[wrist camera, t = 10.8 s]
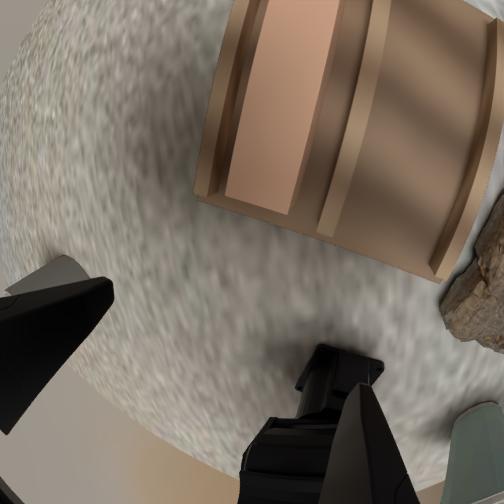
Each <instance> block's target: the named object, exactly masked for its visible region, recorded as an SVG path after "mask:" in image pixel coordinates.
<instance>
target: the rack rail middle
mask: <svg viewBox="0 0 504 504" xmlns="http://www.w3.org/2000/svg"><path fill="white" fill-rule="evenodd" d="M390 6H391V0H373V5H372V11H371V17H370V23H369V28H368V34H367V39H366V44H365V49H364V54H363V59H362V64H361V68H360V73H359V77H358V82H357V86H356V91H355V95H354V99H353V103H352V107H351V111H350V115H349V119H348V123H347V127H346V131H345V135H344V139H343V142H342V146H341V150H340V153H339V157H338V161H337V164H336V168H335V171H334V175H333V178H332V182H331V185H330V188H329V192H328V195H327V198H326V202H325V205H324V208H323V211H322V215H321V218H320V221H319V224H318V227H317V230H316V232H317V233H320V234H323V235H326V236H329V237H331V238H332V237H333V234H334V231H335V228H336V225H337V223H338V220H339V217H340V214H341V211H342V207H343V204H344V201H345V198H346V195H347V192H348V189H349V185H350V182H351V179H352V176H353V172H354V169H355V165H356V162H357V159H358V155H359V152H360V148H361V144H362V141H363V137H364V133H365V129H366V126H367V122H368V118H369V114H370V110H371V106H372V101H373V97H374V93H375V88H376V84H377V79H378V75H379V70H380V65H381V60H382V55H383V49H384V44H385V38H386V32H387V26H388V20H389V13H390Z"/></svg>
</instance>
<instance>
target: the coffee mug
mask: <svg viewBox="0 0 504 504" xmlns="http://www.w3.org/2000/svg"><path fill="white" fill-rule="evenodd" d="M88 279H90V278H89V276H88V275H87V274H86V272H85V271H84V270H83V268H82V267H81V266H80V265H79V264H78V263H77V262H76V261H75V260H73V259H72V258H70V257H68V256H61V257H59V258H57V259H55V260H53V261H52V262H50V263H48V264H46V265H45V266H43V267H41V268H40V269H38V270H36V271H35V272H33V273H31V274H30V275H28V276H26V277H25V278H23V279H21V280H20V281H18V282H17V283H15V284H13V285H12V286H10V287H9V288H7V289H6V290H5V291H4V292H3V297H7V296H12V295H17V294H22V293H26V292H31V291H35V290H40V289H45V288H50V287H54V286H59V285H64V284H69V283H73V282H78V281H83V280H88Z"/></svg>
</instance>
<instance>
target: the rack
mask: <svg viewBox="0 0 504 504" xmlns="http://www.w3.org/2000/svg"><path fill="white" fill-rule="evenodd" d="M268 2H269V0H260V4H259V8H258V11H257V15H256V19H255V22H254V26H253V30H252V34H251V38H250V42H249V46H248V50H247V54H246V58H245V62H244V66H243V71H242V75H241V79H240V84H239V88H238V93H237V97H236V102H235V106H234V111H233V116H232V120H231V125H230V130H229V135H228V140H227V145H226V150H225V156H224V161H223V166H222V172H221V177H220V183H219V188H218V192H217V193H215V194H213V195H211V196H209V197H204V196H200V195H197V200H198V201H201V202H204V203H208V204H211V205H214V206H217V207H221V208H224V209H227V210H230V211H233V212H237V213H240V214H243V215H246V216H249V217H252V218H255V219H259V220H262V221H265V222H268V223H271V224H274V225H277V226H280V227H283V228H286V229H289V230H292V231H295V232H298V233H301V234H304V235H307V236H310V237H313V238H316V239H318V240H321V241H324V242H327V243H330V244H333V245H336V246H339V247H341V248H344V249H347V250H350V251H353V252H355V253H358V254H361V255H364V256H366V257H369V258H372V259H375V260H377V261H380V262H383V263H385V264H388V265H391V266H393V267H396V268H399V269H401V270H404V271H407V272H409V273H412V274H415V275H417V276H420V277H422V278H425V279H427V280H430V281H433V282H435V283H438V284H440V282H441V280H442V279H441V278H438V277H436V276H434V274H433V272H432V270H431V268H430V266H429V264H430V262H431V260H432V258H433V255H434V253H435V251H436V249H437V247H438V244H439V242H440V240H441V238H442V235H443V233H444V230H445V228H446V226H447V223H448V221H449V218H450V216H451V213H452V210H453V208H454V205H455V202H456V199H457V197H458V194H459V191H460V188H461V185H462V182H463V179H464V175H465V172H466V169H467V165H468V162H469V158H470V155H471V151H472V147H473V143H474V139H475V134H476V130H477V125H478V120H479V115H480V110H481V104H482V98H483V91H484V83H485V74H486V63H487V44H488V24H489V23H490V22H492V21H493V20H494V18H492V17H490V16H489V15H487V14H486V13H484V12H482V11H481V10H479V9H477V8H475V7H474V6H472V5H470V4H468V3H467V2H465V1H463V0H391V6H390V13H389V20H388V26H387V32H386V38H385V44H384V49H383V55H382V60H381V65H380V70H379V75H378V79H377V84H376V88H375V93H374V97H373V101H372V106H371V110H370V114H369V118H368V122H367V126H366V129H365V133H364V137H363V141H362V144H361V148H360V152H359V155H358V159H357V162H356V165H355V169H354V172H353V176H352V179H351V182H350V185H349V189H348V192H347V195H346V198H345V201H344V204H343V207H342V211H341V214H340V217H339V220H338V223H337V225H336V228H335V231H334V234H333V237H332V238H331V237H329V236H326V235H323V234H320V233H317V232H316V230H317V227H318V224H319V221H320V218H321V215H322V211H323V208H324V205H325V202H326V198H327V195H328V192H329V188H330V185H331V182H332V178H333V175H334V171H335V168H336V164H337V161H338V157H339V153H340V150H341V146H342V142H343V139H344V135H345V131H346V127H347V123H348V119H349V115H350V111H351V107H352V103H353V99H354V95H355V91H356V86H357V82H358V77H359V73H360V68H361V64H362V59H363V54H364V49H365V44H366V39H367V34H368V28H369V23H370V17H371V11H372V5H373V0H346V3H345V8H344V13H343V18H342V23H341V27H340V32H339V37H338V41H337V46H336V50H335V55H334V59H333V64H332V68H331V72H330V77H329V81H328V85H327V89H326V93H325V98H324V102H323V106H322V110H321V114H320V118H319V122H318V126H317V130H316V134H315V138H314V141H313V145H312V149H311V153H310V157H309V161H308V164H307V168H306V172H305V175H304V179H303V183H302V186H301V190H300V194H299V197H298V201H297V203H296V204H295V206H294V207H293V208H292V210H291V211H290V212H289V213H288V215H285V214H282V213H279V212H276V211H273V210H270V209H267V208H263V207H260V206H257V205H254V204H251V203H247V202H244V201H241V200H238V199H234V198H231V197H228V196H225V192H226V186H227V181H228V176H229V171H230V166H231V160H232V155H233V151H234V146H235V141H236V136H237V131H238V126H239V122H240V117H241V113H242V108H243V103H244V99H245V95H246V90H247V86H248V81H249V77H250V73H251V69H252V65H253V60H254V56H255V52H256V48H257V44H258V40H259V36H260V32H261V29H262V25H263V21H264V17H265V13H266V10H267V6H268Z"/></svg>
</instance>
